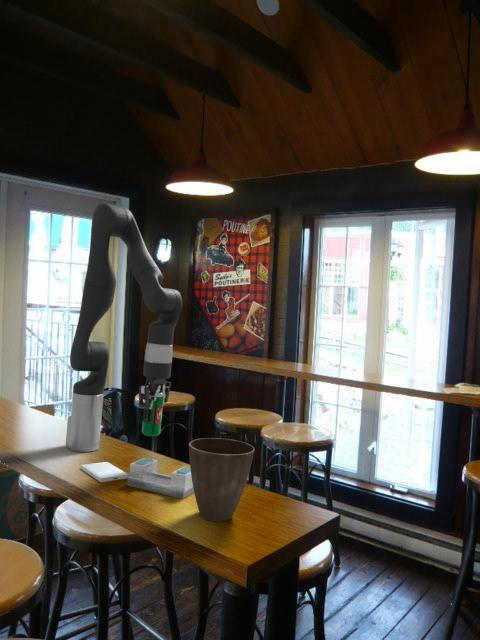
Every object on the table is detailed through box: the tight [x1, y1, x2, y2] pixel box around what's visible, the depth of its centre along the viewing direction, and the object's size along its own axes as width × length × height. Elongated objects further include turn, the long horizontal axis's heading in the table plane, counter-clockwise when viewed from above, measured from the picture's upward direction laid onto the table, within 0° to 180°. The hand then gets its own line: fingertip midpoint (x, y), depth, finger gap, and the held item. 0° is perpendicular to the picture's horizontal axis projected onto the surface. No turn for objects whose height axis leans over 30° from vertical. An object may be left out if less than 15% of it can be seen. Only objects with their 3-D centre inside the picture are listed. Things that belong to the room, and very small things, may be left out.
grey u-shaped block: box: [127, 457, 194, 500], centre depth 140 cm, size 16×8×6 cm, turn 68°
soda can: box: [141, 392, 164, 437], centre depth 152 cm, size 5×5×12 cm
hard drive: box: [80, 461, 129, 483], centre depth 147 cm, size 2×8×12 cm
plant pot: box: [188, 437, 255, 522], centre depth 124 cm, size 15×15×16 cm
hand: (152, 420), depth 152 cm, fingers closed on soda can, 5 cm apart
